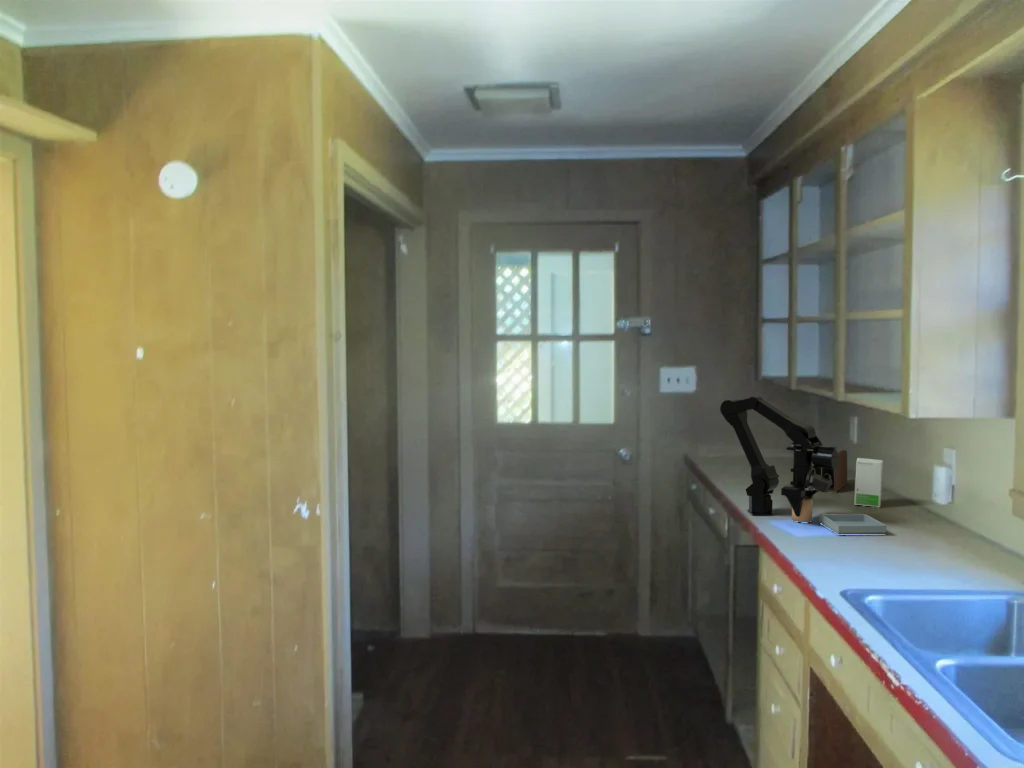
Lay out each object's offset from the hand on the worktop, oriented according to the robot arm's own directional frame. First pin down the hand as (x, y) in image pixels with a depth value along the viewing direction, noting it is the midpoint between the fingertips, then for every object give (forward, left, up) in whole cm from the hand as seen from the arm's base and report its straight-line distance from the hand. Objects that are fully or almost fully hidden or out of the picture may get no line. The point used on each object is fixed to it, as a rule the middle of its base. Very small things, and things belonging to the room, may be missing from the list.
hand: (801, 514), depth 246 cm
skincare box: (+30, +20, -2) cm, 36 cm away
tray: (+11, -11, -2) cm, 16 cm away
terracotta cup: (0, 0, -2) cm, 2 cm away
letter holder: (+28, +50, -2) cm, 57 cm away
